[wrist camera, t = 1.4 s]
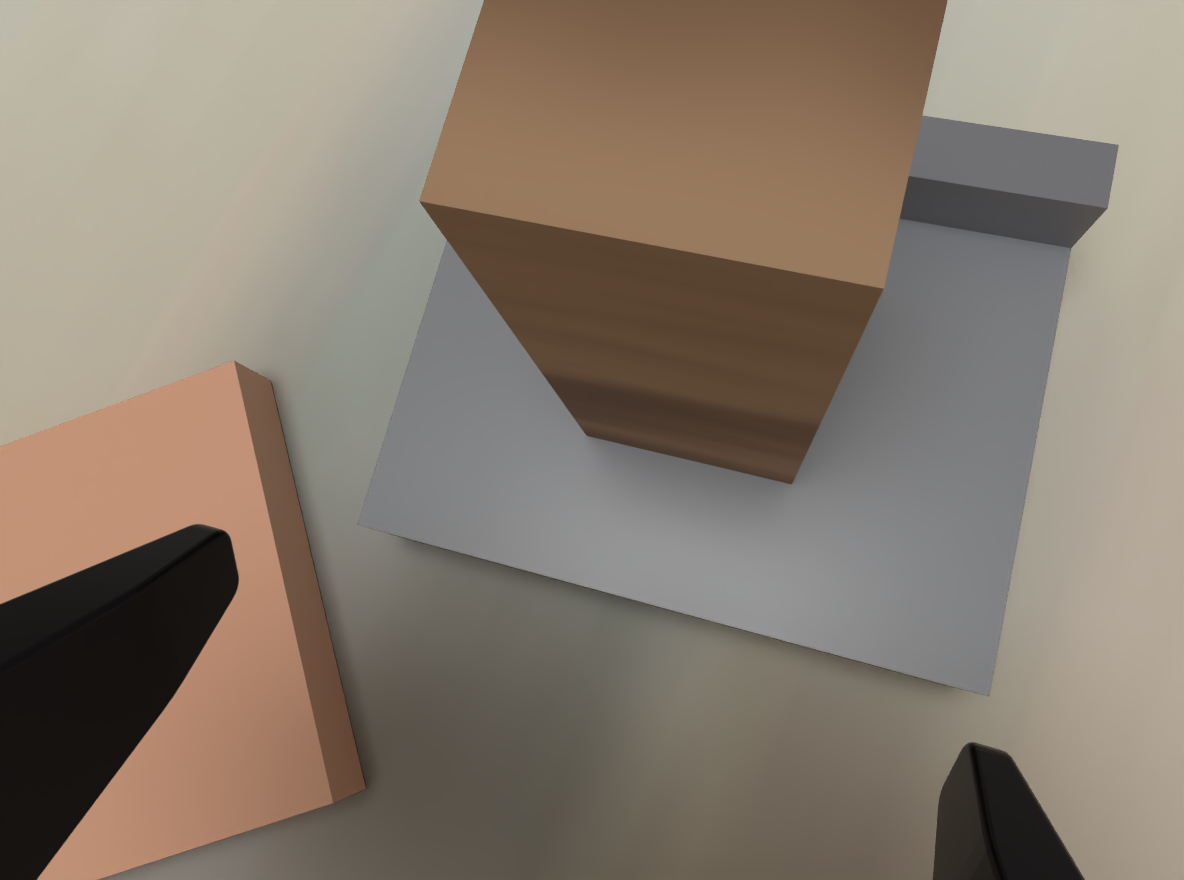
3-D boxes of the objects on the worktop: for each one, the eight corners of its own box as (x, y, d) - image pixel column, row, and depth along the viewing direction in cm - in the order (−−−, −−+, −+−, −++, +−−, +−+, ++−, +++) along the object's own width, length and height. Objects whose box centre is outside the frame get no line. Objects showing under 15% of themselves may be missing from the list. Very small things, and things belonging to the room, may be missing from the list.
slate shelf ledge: (953, 687, 22) (1019, 704, 17) (401, 537, 24) (321, 514, 20) (1037, 244, 24) (1118, 145, 19) (518, 154, 26) (471, 48, 22)
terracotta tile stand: (365, 788, 23) (332, 803, 21) (-36, 918, 24) (-103, 944, 22) (270, 380, 26) (233, 360, 24) (-84, 509, 27) (-147, 500, 25)
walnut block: (791, 484, 20) (884, 288, 9) (586, 435, 21) (418, 201, 10) (837, 286, 21) (977, -138, 9) (638, 247, 22) (541, -179, 10)
